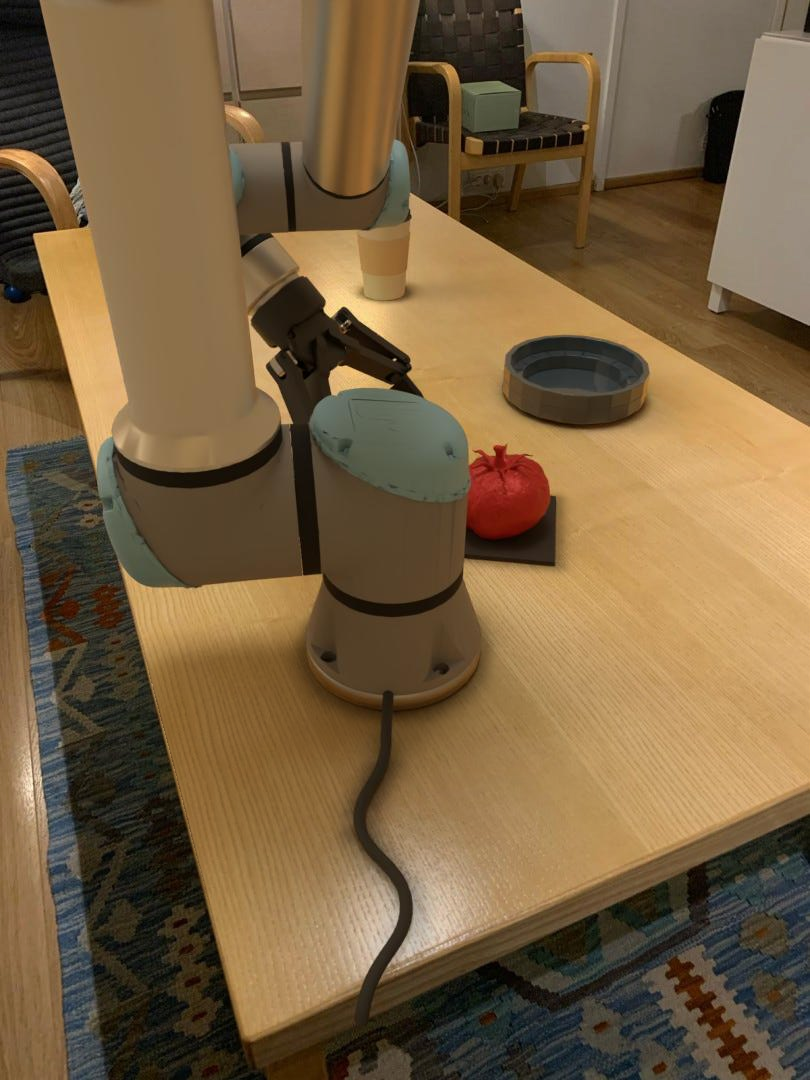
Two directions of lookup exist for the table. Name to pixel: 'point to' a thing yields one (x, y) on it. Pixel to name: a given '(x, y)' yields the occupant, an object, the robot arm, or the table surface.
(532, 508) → the red tomato
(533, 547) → the mat
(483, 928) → the table surface
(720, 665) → the table surface
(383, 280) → the coffee cup
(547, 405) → the bowl
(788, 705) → the table surface
